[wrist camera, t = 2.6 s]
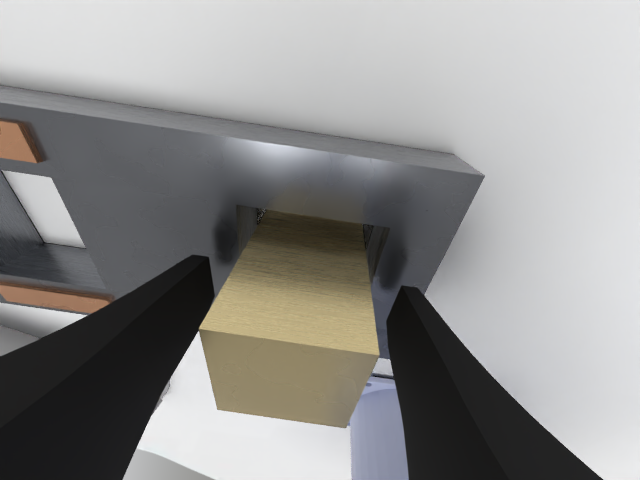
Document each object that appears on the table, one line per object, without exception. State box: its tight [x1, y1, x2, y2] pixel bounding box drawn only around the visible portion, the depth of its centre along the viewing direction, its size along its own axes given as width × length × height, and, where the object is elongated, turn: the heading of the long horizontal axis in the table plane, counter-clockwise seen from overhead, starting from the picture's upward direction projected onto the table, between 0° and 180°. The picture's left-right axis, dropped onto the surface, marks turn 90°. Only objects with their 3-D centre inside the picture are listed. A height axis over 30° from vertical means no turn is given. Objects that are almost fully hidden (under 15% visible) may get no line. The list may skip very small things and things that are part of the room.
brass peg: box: [199, 210, 379, 428], centre depth 9 cm, size 4×4×7 cm
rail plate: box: [0, 85, 485, 359], centre depth 11 cm, size 22×10×3 cm, turn 83°
